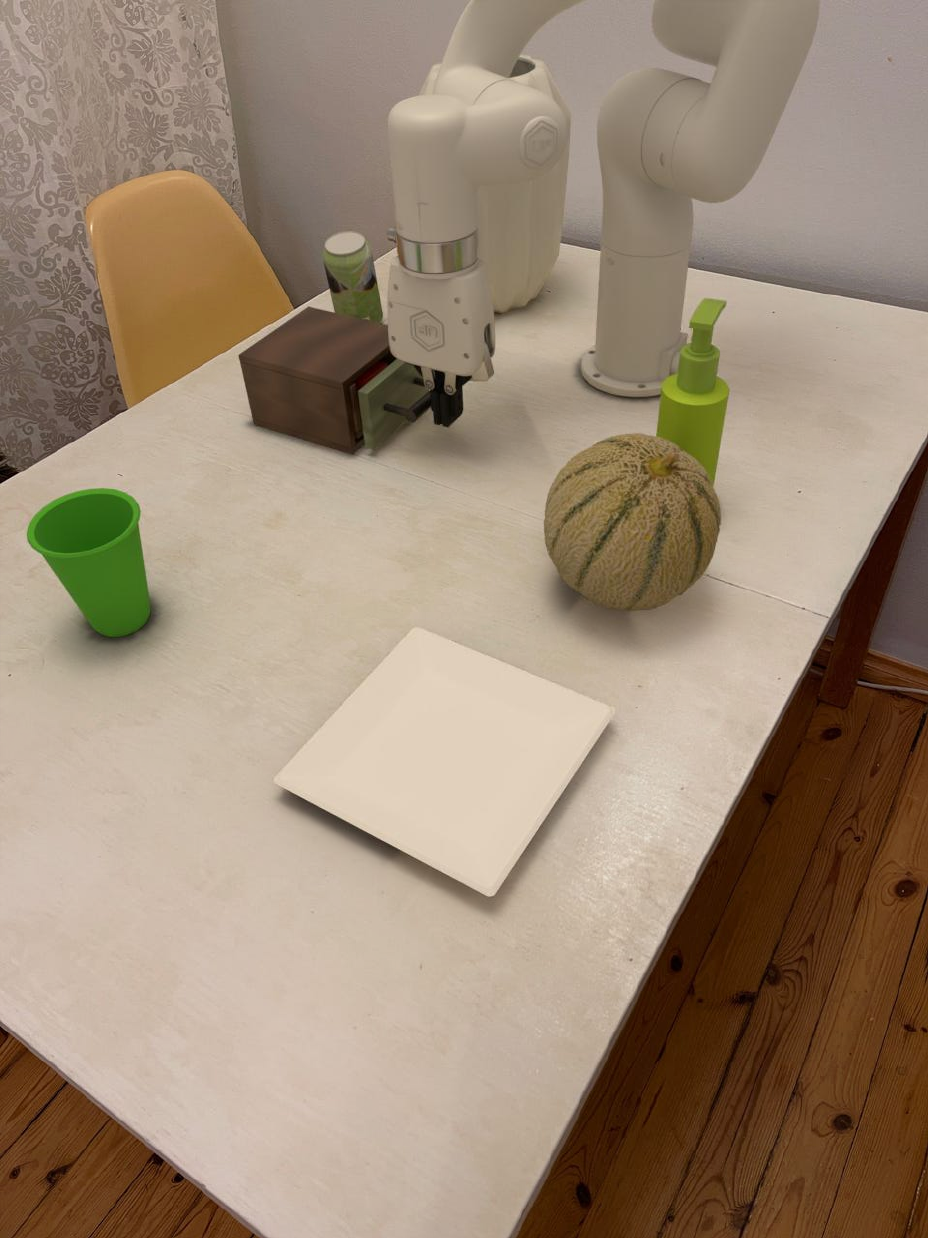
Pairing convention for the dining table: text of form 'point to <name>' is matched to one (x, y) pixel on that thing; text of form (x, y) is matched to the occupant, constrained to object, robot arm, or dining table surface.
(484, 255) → the vase
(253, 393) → the cabinet
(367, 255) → the beverage can
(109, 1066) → the dining table surface
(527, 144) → the robot arm
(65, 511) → the cup
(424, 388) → the drawer
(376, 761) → the plate
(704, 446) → the soap dispenser
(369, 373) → the block
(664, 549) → the cantaloupe
